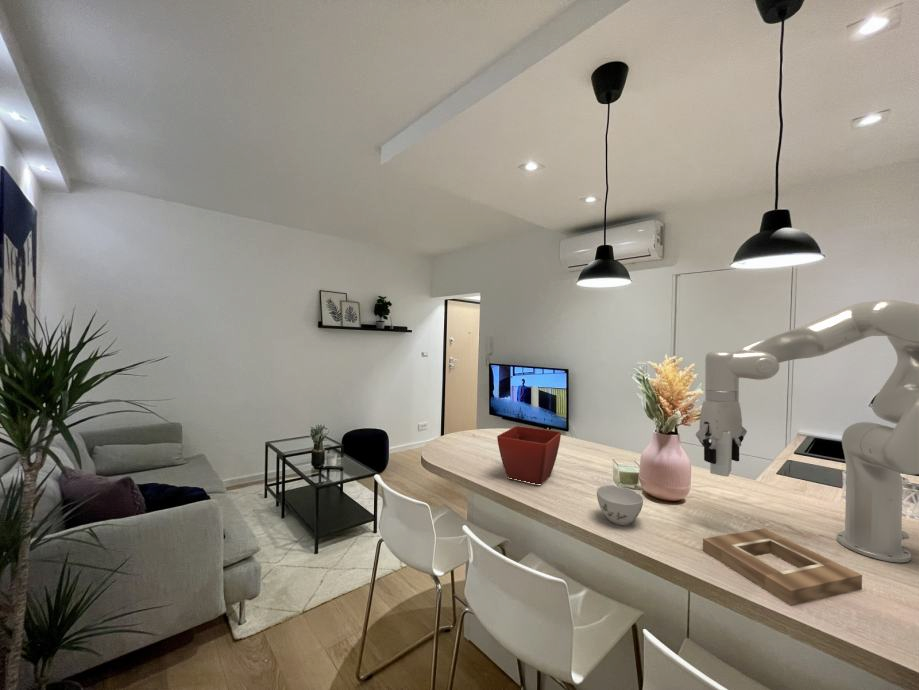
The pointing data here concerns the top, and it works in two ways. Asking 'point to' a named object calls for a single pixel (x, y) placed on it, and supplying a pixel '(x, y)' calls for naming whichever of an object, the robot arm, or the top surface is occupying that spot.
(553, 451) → the plant pot
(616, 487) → the teacup
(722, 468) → the skincare box
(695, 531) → the top surface
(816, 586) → the picture frame
